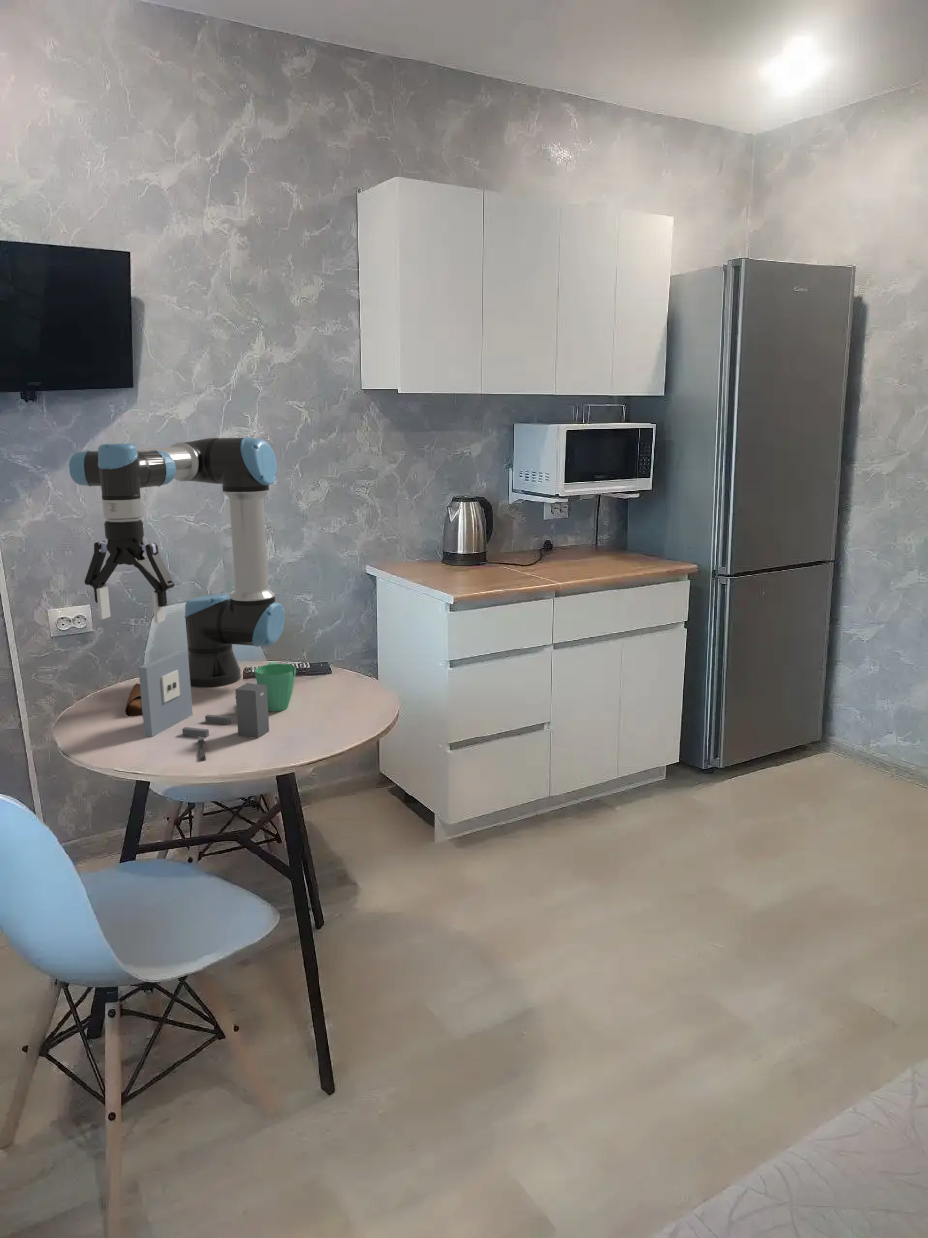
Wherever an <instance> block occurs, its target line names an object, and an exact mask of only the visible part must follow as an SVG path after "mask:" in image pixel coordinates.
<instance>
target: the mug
mask: <svg viewBox="0 0 928 1238" xmlns="http://www.w3.org/2000/svg"><path fill="white" fill-rule="evenodd" d="M296 673H297V668H296V666H294V665H292V664H288V663H277V662H269V663H268V664H265V665H261V666H258V667H257V668H255V669H254V674H255V675H254V676H255V680H256V684H263V685H267V701H268V712H269V711H270V712H282V711H285V710H287V709H288V708H289V704H290V701H291V698H292V695H293V691H294V686H295V679H296Z"/></svg>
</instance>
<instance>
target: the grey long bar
mask: <svg viewBox="0 0 928 1238" xmlns="http://www.w3.org/2000/svg"><path fill="white" fill-rule="evenodd" d="M204 738H205V737H197V743H198V745H199V753H200V761H206V760H207V758H206V757H207V756H206V750H205V739H204Z"/></svg>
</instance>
